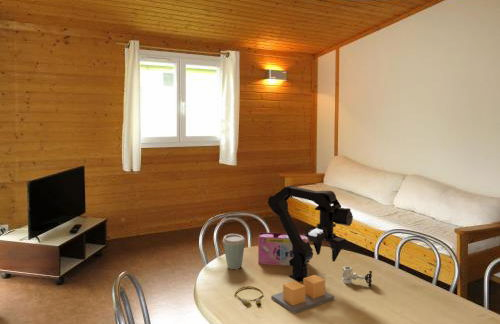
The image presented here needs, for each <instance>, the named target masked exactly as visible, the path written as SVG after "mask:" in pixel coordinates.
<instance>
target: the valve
mask: <svg viewBox="0 0 500 324" xmlns="http://www.w3.org/2000/svg"><path fill="white" fill-rule="evenodd" d="M341 274H342V276H341V277H342V283H343V284H344V285H351V284H352V283H353V282H352V281H357V280H358V279H359V280H364V281H365V282H366V284H367V285H368V287H372V283H373V282H372V281H373V280H372V277H373V271H372V270H369V273H366V275H365V276H364V275H362V274H357V272H353V268H352V267H351V266H348V265H347V266H343V268H342V273H341Z"/></svg>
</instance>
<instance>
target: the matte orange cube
mask: <svg viewBox="0 0 500 324" xmlns="http://www.w3.org/2000/svg"><path fill="white" fill-rule="evenodd" d="M305 290H306V286H304V285H303V283H300V281H297V280H294V281H289V282H287V283H283V285H282V292H283V299H284V300H285V301H287V302H288V303H290V304H291V305H296V304H299V303H302V302H305Z"/></svg>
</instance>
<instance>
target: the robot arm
mask: <svg viewBox="0 0 500 324" xmlns="http://www.w3.org/2000/svg"><path fill="white" fill-rule="evenodd" d="M291 197H294V198H299V199H302V200H306V201H311V202H313V203H314V204H316V205H318V206H316V207H315V208H314V210H315V211H319V223H317V225H316V227H315V228H312V229H308V230H307V232H306V235H307V238H308V241H309V242H307V243H305V242H304V241H303V240H302V238H301V236H300V234H301V233H299V231H298V228H297V226H296V224H295V222H294V220H293V218H292V217H291V214H290V212H289V203H288V200H289V199H291ZM267 204H268V206H269V208H270V209H271V211H272V212H273V213H274V214H276V215H277V216H278V218H279V220H280V222H281V224H282V226H283V227H282V228H284V231H285V233H287V235H288V237H289V239H290V241H291V243H292V252H293V256H294V257H293V258H292V259H291V260H289V263H290V266H291V268H292V270H291V271H292V273H291V274H290V275H289V278H291V279H292V280H294V281H297V282H301V281H303V278H306V277H309V276H310V275H308V265H307V264H308V263H310V260H311V259H313V255H314V252H313V251H314V249H315V253H316V255H320V254H321V250H322V244H323V241H324V240H325V241H326V242H329V244H330V246H329V248H330V249H331V259H332V262H336V260H337V258H338V256H339V254H340V253H341V251H342V249H343V248H346V247H348V240H347V239H346V238H343V237H340V236H339V237H336V233H334V228H335V227H336V226H337V225H342V226H347V227H350V226H351V224H352V222H353V219H354V217H353V212H352V211H351V208H349V207H348V208H345V207H342V204H340V202H339V200H338V199H337V195H336V193H335V192H334V191H332V190H312V189H308V188H303V187H298V186H294V185H291V184H290V185H287V186H286V185H285V186H283V188H282V189H281V190H279V191H278V192H277V193H275V194H274V195H270V196H269V197H268V201H267ZM334 237H335V238H334ZM310 242H312V244H313V247H314V249H313V248H312V247H311V244H310ZM290 266H289V267H290Z"/></svg>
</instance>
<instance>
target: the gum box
mask: <svg viewBox="0 0 500 324" xmlns="http://www.w3.org/2000/svg"><path fill="white" fill-rule="evenodd" d="M299 234H300V236H301V238H302V240H303V241H304V242H305V243H307V242H309V243H310V240H309V237H307V233H306V234H305V233H299ZM257 243H258V245H257V247H258V253H257V255H258V257H257V258H258V261H257V263H258V264H259V263H261V265H272V266H273V265H274V266H289V267H290V263H289V260H291V259H292V258H293V257H294V256H293V252H292V243H291V241H290V239H289V237H288V235H287V233H286V232H285V233H283V232H282V233H281V232H269V231H268V232H267V231H266V232H263V231H261V232H259V234H258V236H257Z"/></svg>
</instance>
